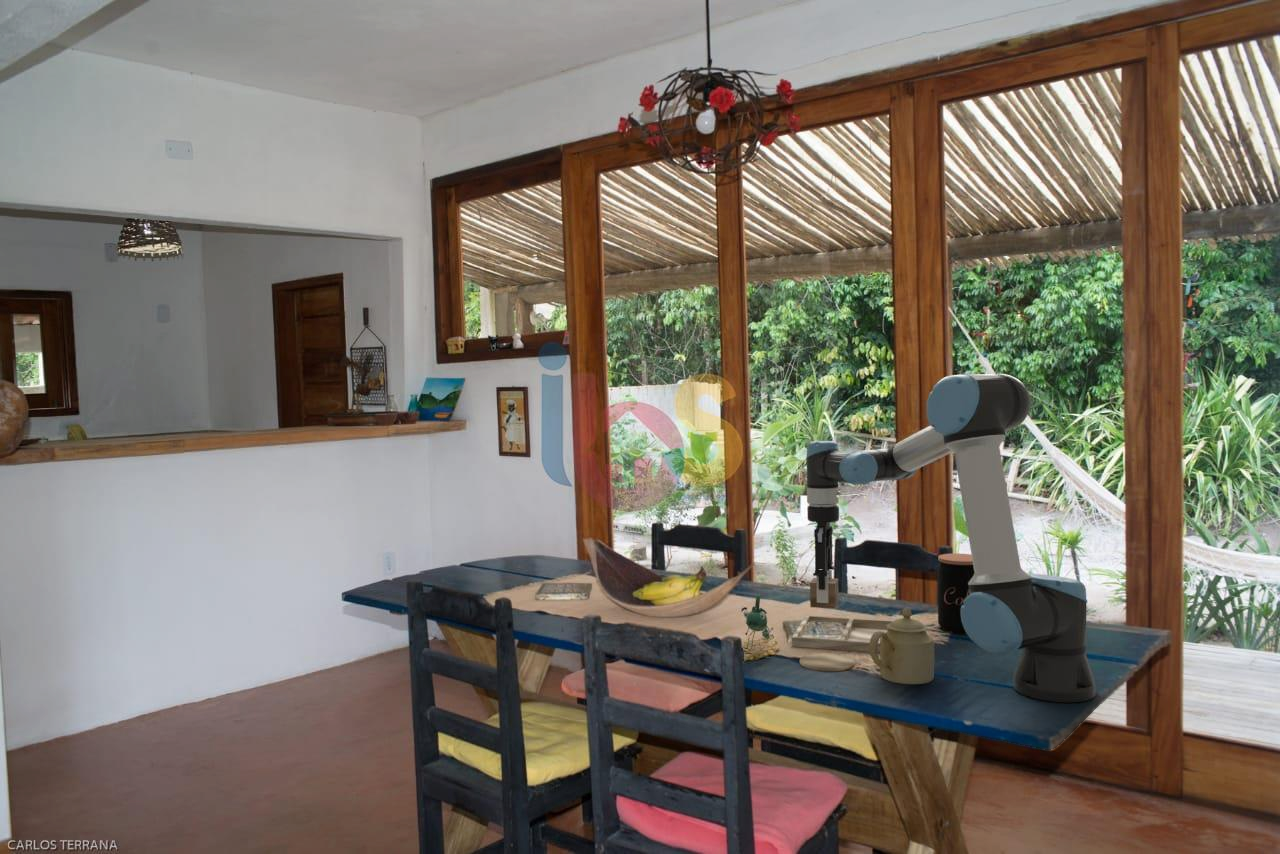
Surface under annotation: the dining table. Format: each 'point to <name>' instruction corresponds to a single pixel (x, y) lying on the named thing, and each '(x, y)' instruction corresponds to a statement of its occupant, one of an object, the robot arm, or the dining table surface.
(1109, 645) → the dining table surface
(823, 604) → the letter cube
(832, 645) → the tray
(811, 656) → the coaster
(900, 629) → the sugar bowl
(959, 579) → the coffee jar
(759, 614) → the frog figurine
